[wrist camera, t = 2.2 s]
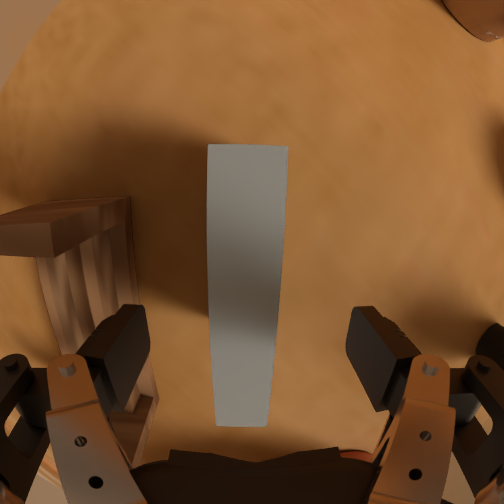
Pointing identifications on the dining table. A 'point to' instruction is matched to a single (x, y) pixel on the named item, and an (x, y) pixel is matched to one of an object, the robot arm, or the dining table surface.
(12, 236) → the wooden card holder
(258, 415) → the gray rectangular slab
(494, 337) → the drinking cup
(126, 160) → the dining table surface
